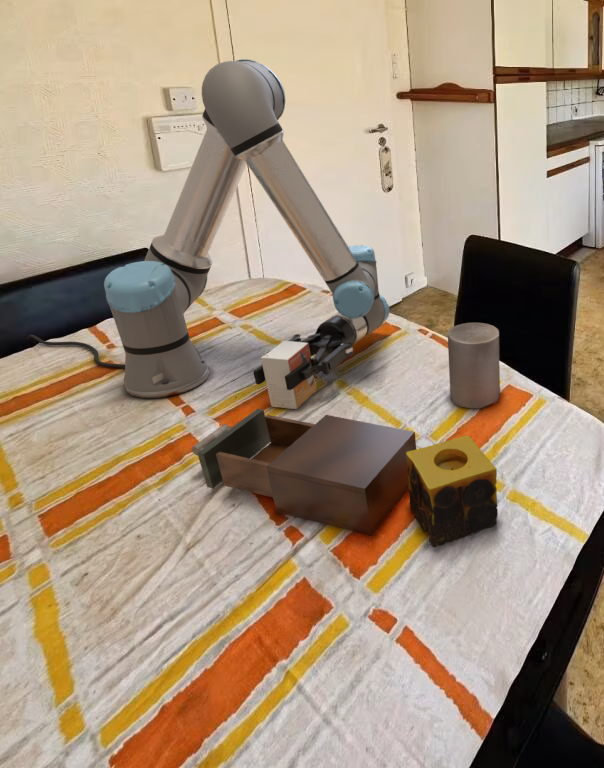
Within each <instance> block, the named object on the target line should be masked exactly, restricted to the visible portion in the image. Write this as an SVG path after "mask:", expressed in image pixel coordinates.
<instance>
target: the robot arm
mask: <svg viewBox="0 0 604 768" xmlns="http://www.w3.org/2000/svg"><path fill="white" fill-rule="evenodd" d="M201 98H202V99H201V100H202V104H203V106H204V110H203V113H202V115H201V118H202V121H203V122H204V124H205V126H206V130H205V133H204V135H203V138H202V140H201V143H200V145H199V147H198V150H197V153H196V155H195V158H194V160H193V163H192V166H191V167H190V170H189V173H188V174H187V178H186V179H185V182H184V184H183V187H182V190H181V192H180V194H179V197H178V200H177V202H176V204H175V207H174V209H173V211H172V214H171V216H170V219H169V222H168V225H167V227H166V229H165V232H164V234H161V235H157V236H154V237H153V238H152V241H151V243H150V245H149V248H148V250H147V253H146V254H145V255H146V256H145V258H144V260H142V261H136V262H131V263H127V264H125V265H124V266H119V267H117V268H115V269H113V270H111V271H110V272H109V273H108V274H107V275H106V277H105V279H104V282H103V287H104V292H105V298H106V301H107V304H108V305H109V309H110V311H111V314H112V317H113V321H114V324H115V326H116V330H117V332H118V335H119V338H120V341H121V344H122V348H123V350H124V363H109V362H103V361H101V360H99V356H100V355H99V351H98V349H96V348H95V347H93V346H92V345H90V344H88V343H85V342H81V341H47V340H44V339H42V338H40V337H38V336H36V335H35V334H29V335H28V336H27V337H26V341H31V340H35V341H36V342H38V343H40V344H42V345H45V346H79V347H84V348H86V349H88V350H90V351H92V352H93V361H94V362H95V363H96V364H97V365H99V366H102V367H107V368H113V369H114V368H115V369H124V375H123V382H124V387H125V390H126V392H127V393H128V394H129V395H131V396H132V397H136V398H140V399H160V398H161V399H162V398H168V397H172V396H177V395H180V394H183V393H186V392H188V391H191V390H193V389H195V388H197V387H199V386H200V385H201V384H203V383H204V382H205V381H206V380H207V379H208V377H209V375H210V372H209V366H208V364H207V362H206V360H205V358H203V356H202V355H201V353H200V351H199V350H198V349H197V347H196V346H195V344H194V343H193V342H192V340H191V338H190V334H189V329H188V326H187V323H186V319H185V315H184V314H185V313H186V312H187V311H188V309H189V308H190V307H191V306H192V304H194V302H195V301H197V300H198V299H199V298H200V296H201V295H202V294H203V293H204V291H205V289H206V286H207V283H208V275H209V272H210V270H211V267H212V265H213V259H212V258H211V256H210V254H209V252H210V250H211V248H212V245H213V244H214V241H215V238H216V236H217V234H218V231H219V229H220V227H221V225H222V223H223V220H224V217H225V215H226V213H227V211H228V209H229V206H230V204H231V202H232V200H233V197H234V195H235V192H236V191H237V187H238V186H239V184H240V181H241V179H242V177H243V174H244V172H245V169H246V168H247V166H248V167H249V169H250V170H251V172H252V174H253V175H254V177H255V178H256V180H257V181H258V183H259V184H260V186H261V187H262V189H263V191H264V192H265V193H266V195H267V196H268V198H269V200H270V201H271V203H272V204H273V206H274V207H275V208H276V210H277V211H278V213H279V215H280V216H281V217H282V219H283V221H284V222H285V224H286V226H287V227H288V228H289V230H290V231H291V233H292V235H294V238H295V239H296V241H297V242H298V243H299V245H300V246H301V248H302V250H303V251H304V252H305V254H306V255H307V257H308V259H309V260H310V261H311V263H312V265H313V266H314V268H315V269H316V271H317V272H318V274H319V275H320V277H321V278H322V279H323V281H324V283H325V284H326V286H327V288H328V289H329V291H330V292H331V294H332V302H333V306H334V308H335V310H336V311H337V313H335V314H333V315H332V316H330V317H329V318H328V319H326V320H325V321H323V322H322V323H320V324H319V325H318V327H317V329H316V331H315V333H313V334H310V335H308V336H307V337H301V334H299V333H297V334H294V335H293V336H292V337H291V338H290V339H288V340H287V341H293V342H304V343H309V348H310V354H311V358H310V360H311V365H310V362H307V361H306V362H304V363H303V364H302V365H300V366H299V367H297V368H296V369H295V370H293V371H292V372H290V373H289V374H287V375H286V376H285V381H286V386H287V390H292V389H293V388H294V387H296V386H297V385H298V384H300V383H301V382H302V381H304V380H306V379H308V378H310V377H311V376H313V375H314V376H315V375H318V374H320V373H322V374H323V375H328V374H330V373H331V372H332V371H333V370H335V368H337V367H338V366H339V365H340V364H341V363H343V362H344V361H345V359H347V358H349V357H351V356H353V355H354V348H353V346H354V345H356V344H357V343H359V342H360V341H361V340H362V339H364V338H366V337H367V336H368V335H369V334H371V333H372V332H374V331H376V330H378V329H379V328H380V327H381V326H382V325H383V324H384V323H385V322H386V321H387V320H388V318H389V316H390V310H391V309H390V305H389V304H388V302H387V300H386V298H385V297H384V296H382V295H381V294H380V292H379V281H378V271H377V269H378V268H377V260H376V253H375V250H374V248H372V247H370V246H368V245H363V244H355V245H348V244H347V242H346V240H345V238H344V237H343V236H342V233H341V232H340V230H339V229H338V228H337V226H336V224H335V223H334V221H333V220H332V218H331V216H330V214H329V212H328V211H327V210H326V208H325V206H324V205H323V203H322V202H321V200H320V198H319V197H318V195H317V194H316V192H315V189H313V187H312V185H311V184H310V182H309V181H308V179H307V177H306V176H305V174H304V173H303V171H302V169H301V168H300V166H299V164H298V163H297V161H296V159H295V158H294V156H293V154H292V153H291V151H290V149H289V148H288V147H287V145H286V143H285V141H284V135H285V130H284V129H283V128H282V126H281V124H280V122H279V120H280V118H281V117H282V116H283V114H284V111H285V107H286V91H285V89H284V86H283V84H282V82H281V80H280V79H279V77H278V75H277V74H275V72H274V71H273V70H272V69H271V68H269V67H268V66H267V65H264V64H262V63H260V62H259V61H256V60H252V59H247V58H246V59H245V58H243V59H236V60H227V61H223V62H219V63H217V64H215V65H214V66H212V67H211V68H210V69H209V70H208V72H206V74H205V76H204V78H203V81H202V83H201ZM271 350H272V349H270V350H268V351H267V352H266V354H267V353H268V352H270V351H271ZM312 356H313V357H312ZM252 373H253V377H254V382H255V384H256V385H261V384H262V383H264V382H266V380H265V375H264V370H263V366H262V364H261V365H260V366H258V367H257V368H256V369H253V370H252Z"/></svg>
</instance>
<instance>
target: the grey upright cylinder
mask: <svg viewBox="0 0 604 768" xmlns="http://www.w3.org/2000/svg"><path fill="white" fill-rule="evenodd" d="M447 349H448V350H447V351H448V352H447V353H448V373H449V375H448V376H449V396H450V400H451V402H452V403H453V404H455V405H457V406H458V407H461V408H466V409H481V408H485V407H487V406H490V405H492V404H495V403H496V402H498V401H499V398H500V396H501V394H500V392H501V391H500V390H501V381H500V380H501V379H500V377H501V376H500V375H501V374H500V372H501V371H500V330H499V329H498V328H497V327H495V326H494V325H491V324H490V323H484V322H466V323H460V324H457V325H454V326H452V327H451V328H449V330H448V331H447Z"/></svg>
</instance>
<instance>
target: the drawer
mask: <svg viewBox="0 0 604 768" xmlns="http://www.w3.org/2000/svg"><path fill="white" fill-rule="evenodd" d="M315 424H316V423H311V422H306V421H302V420H298V419H292V418H287V417H282V416H277V415H271V414H267V415H266V413H265V409H263V408H256V409H255V410H254V411H253V412H251V413H250V414H248V415H247V416H246V417H244V418H242V419H241V420H240V421H239V422H238V423H236V424H234V425H233V426H232V427H231V426H229V424H227V423H224V424H222V425H221V426H220V427H218V428H217V429H215V430H214V431H212V432H211V433H210V434H208V435H206V436H205V437H204V438H203V439H201V440H200V441H198V442H197V443H195V444H194V445H193V446H192V447H191V448H190V450H191V452H192V454H193V455H195V456H197V457H198V460H199V463H200V468H201V470H202V474H203V478H204V480H205V484H206V486H207V487H206V488H209V489H212V490H213V489H215V488H217V487H218V486H219V485H220V484H221V483H223V485H224V487H228V488H232V489H236V490H240V491H245V492H249V493H253V494H257V495H261V496H265V497H269V498H273V493H272V489H271V485H270V480H269V476H268V471H267V468H266V466H267V465H268V464H270V463H271V462H272V461H273V460H274V459H275V458H277V457H278V456H279V455H280V454H281V453H282V452H283V451H285V450H286V449H287V448H288V447H289V446H290V445H292V444H293V443H294V442H295V441H296V440H297V439H299V438H300V437H301V436H302V435H303V434H304V433H306V432H307V431H308V430H309V429H310V428H311V427H312V426H314V425H315Z"/></svg>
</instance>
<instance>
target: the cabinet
mask: <svg viewBox="0 0 604 768" xmlns="http://www.w3.org/2000/svg"><path fill="white" fill-rule="evenodd" d="M314 424H315V425H314V426H312V427H311V428H310V429H309V430H308V431H307V432H306V433H304V434H303V435H302V436H301V437H300V438H299V439H297V440H296V441H295V442H294V443H293V444H292V445H290V446H289V447H288V448H287V449H286V450H285V451H283V452H282V453H281V454H280V455H279V456H278V457H277V458H275V459H274V460H273V461H272V462H271V463H270V464H268V465H267V466H266V468H267V471H268V476H269V480H270V485H271V489H272V493H273V497H272V499H273V501H274V502H273V503H274V507H275V511H276V513H277V514H282V515H286V516H290V517H293V518H297V519H302V520H306V521H309V522H313V523H318V524H321V525H325V526H329V527H333V528H337V529H342V530H344V531H346V530H347V531H350V532H353V533H357V534H361V535H366V536H368V537H369V536H370V537H372V536H373V535H374V534H375V533H376V531H377V530H378V529H379V528H380V526H381V525H382V523H384V521H385V520H386V518H387V517H388V516H389V514H390V513H391V512H392V510H394V508H395V507H396V506H397V504H398V503H399V502H400V500H401V499H402V498H403V496H405V494H406V493H407V492H408V489H409V477H408V464H407V456H406V452H408V451H412V450H416V449H417V441H416V440H417V439H416V432H415V431H412V430H408V429H402V428H398V427H392V426H387V425H382V424H381V425H380V424H376V423H371V422H366V421H360V420H355V419H351V418H346V417H345V418H344V417H340V416H336V415H330V414H325V415H324V416H323V417H322V418H320V419H319V420H318V421H317V422H316V423H314Z"/></svg>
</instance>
